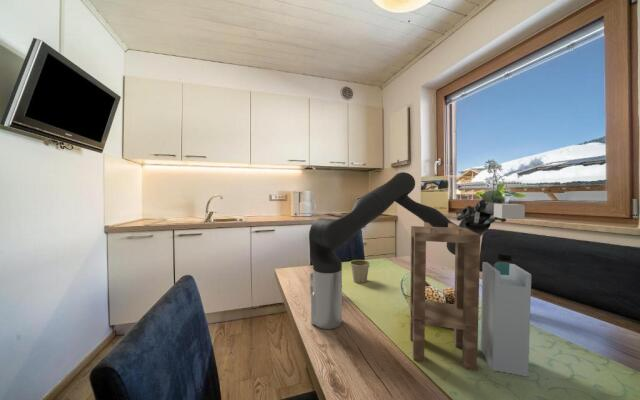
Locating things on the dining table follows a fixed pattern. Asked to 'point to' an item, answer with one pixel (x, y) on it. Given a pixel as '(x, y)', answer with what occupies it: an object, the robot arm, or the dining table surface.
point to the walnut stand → (466, 291)
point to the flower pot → (360, 270)
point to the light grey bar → (505, 210)
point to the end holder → (506, 319)
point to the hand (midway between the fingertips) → (491, 202)
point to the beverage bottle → (503, 263)
